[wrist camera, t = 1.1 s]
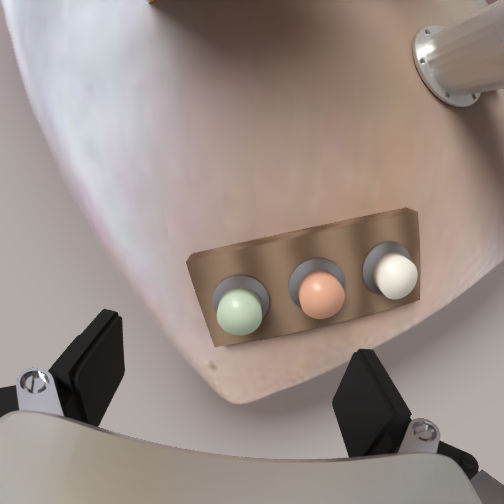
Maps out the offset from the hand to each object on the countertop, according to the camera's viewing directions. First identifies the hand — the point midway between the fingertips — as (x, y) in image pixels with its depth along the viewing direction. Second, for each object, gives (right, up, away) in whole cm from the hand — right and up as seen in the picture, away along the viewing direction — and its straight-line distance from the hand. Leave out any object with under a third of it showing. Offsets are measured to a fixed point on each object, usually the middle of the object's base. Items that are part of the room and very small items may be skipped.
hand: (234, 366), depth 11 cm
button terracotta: (+8, 0, +22) cm, 23 cm away
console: (+8, +2, +26) cm, 27 cm away
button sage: (-1, -2, +22) cm, 22 cm away
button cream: (+17, +2, +21) cm, 27 cm away
